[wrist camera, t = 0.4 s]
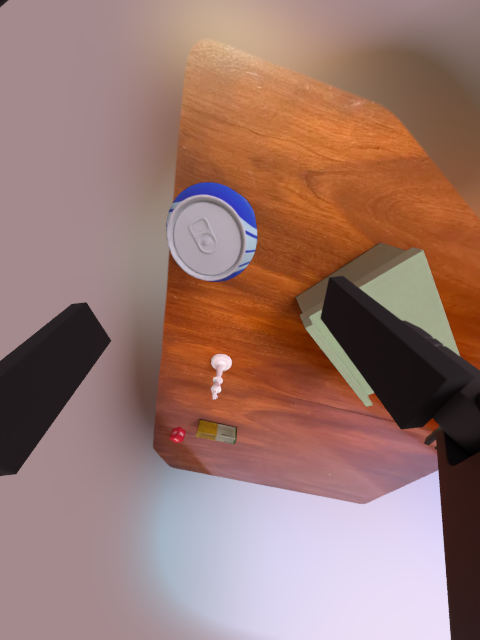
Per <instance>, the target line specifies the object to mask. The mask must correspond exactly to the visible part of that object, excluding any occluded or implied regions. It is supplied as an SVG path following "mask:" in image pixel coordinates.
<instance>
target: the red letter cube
mask: <svg viewBox="0 0 480 640" xmlns="http://www.w3.org/2000/svg"><path fill="white" fill-rule="evenodd" d="M185 433H186V431H184V430H183V429H182V428H181V427H178V428H175V429H173V431H172V434H171V436H170V439H171V440H172V441H174V442H175V443H178V442H182V441H183V439H184V436H185Z"/></svg>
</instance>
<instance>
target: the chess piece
mask: <svg viewBox="0 0 480 640" xmlns="http://www.w3.org/2000/svg"><path fill="white" fill-rule="evenodd" d="M211 365H212V366H213V368H215V369H216V370H217V373H216V377H214V378H213V382H214V385H213V386H212V388H211V391H212V394H213V400H215V399H217V398H218V396H217V393H220V392H221V387H220V384H221V383H222V382H223V379H222V378H221V375H222V372H223V371H226V370H228V369H229V368H230V367H231V365H232V360H231V358H230V357H229V356H227V355H225V354H216V355H214V356H213V357H212V359H211Z"/></svg>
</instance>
